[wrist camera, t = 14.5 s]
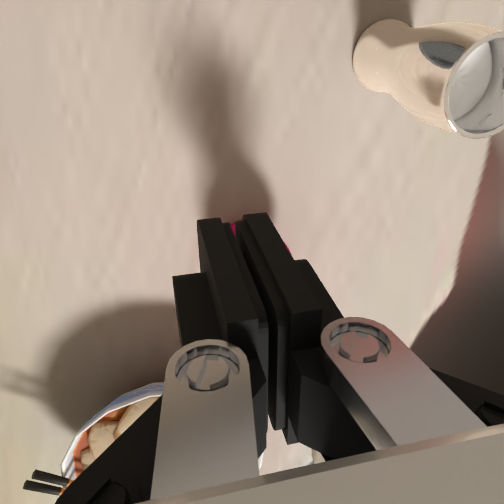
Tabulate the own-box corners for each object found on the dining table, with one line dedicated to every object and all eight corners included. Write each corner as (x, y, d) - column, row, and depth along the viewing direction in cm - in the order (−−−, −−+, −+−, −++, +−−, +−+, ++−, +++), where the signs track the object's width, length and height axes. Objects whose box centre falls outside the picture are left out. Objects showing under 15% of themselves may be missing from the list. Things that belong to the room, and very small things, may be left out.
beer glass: (411, -1, 40) (540, 7, 28) (424, 76, 44) (543, 115, 31) (338, 33, 40) (433, 57, 28) (357, 108, 44) (449, 159, 31)
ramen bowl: (293, 388, 62) (314, 440, 55) (189, 491, 67) (196, 549, 61) (129, 309, 50) (129, 362, 43) (21, 442, 56) (6, 508, 49)
